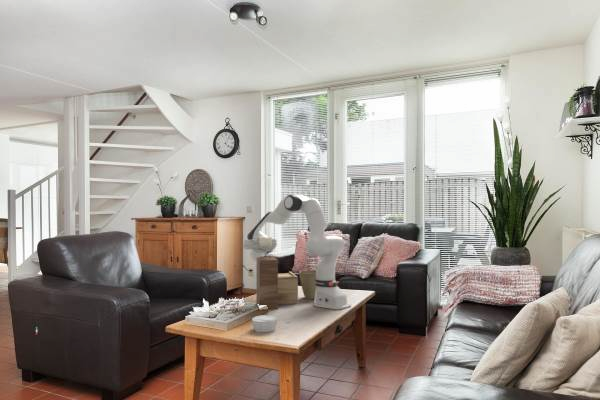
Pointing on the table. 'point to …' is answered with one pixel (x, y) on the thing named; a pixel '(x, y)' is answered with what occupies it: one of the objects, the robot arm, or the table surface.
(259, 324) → the ramekin
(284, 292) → the stand
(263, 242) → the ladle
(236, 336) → the table surface
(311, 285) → the plant pot
